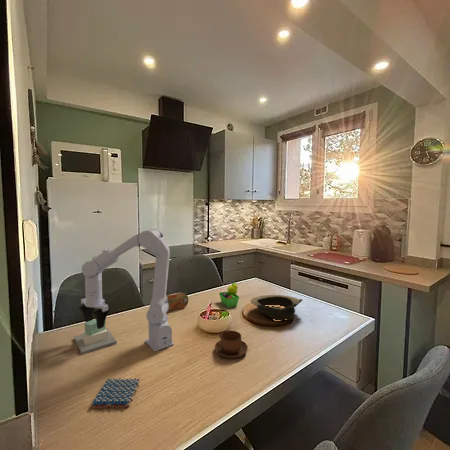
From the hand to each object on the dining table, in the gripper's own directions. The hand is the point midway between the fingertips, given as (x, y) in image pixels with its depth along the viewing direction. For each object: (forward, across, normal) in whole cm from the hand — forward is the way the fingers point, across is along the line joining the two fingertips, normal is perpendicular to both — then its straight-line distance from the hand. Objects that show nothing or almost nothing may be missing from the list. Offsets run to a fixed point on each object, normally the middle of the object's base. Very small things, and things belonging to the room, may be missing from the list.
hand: (94, 325), depth 101 cm
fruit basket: (+7, -25, -62) cm, 67 cm away
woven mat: (+7, -32, +14) cm, 36 cm away
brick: (+2, 0, 0) cm, 2 cm away
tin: (+7, -5, -40) cm, 41 cm away
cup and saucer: (+7, -48, -22) cm, 54 cm away
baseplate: (+6, 0, 0) cm, 6 cm away
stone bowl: (+7, -50, -63) cm, 81 cm away
